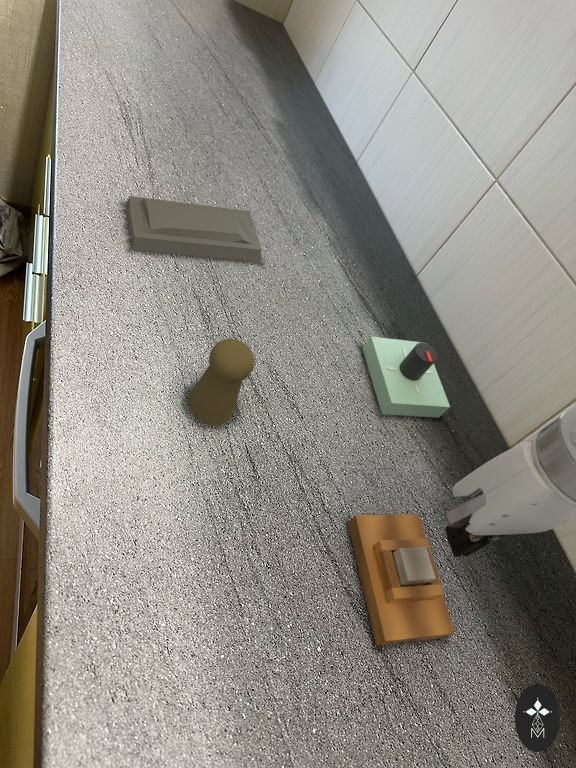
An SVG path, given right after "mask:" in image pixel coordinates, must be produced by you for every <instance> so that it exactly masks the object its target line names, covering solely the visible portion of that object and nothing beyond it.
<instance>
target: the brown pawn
mask: <svg viewBox="0 0 576 768" xmlns="http://www.w3.org/2000/svg"><path fill="white" fill-rule="evenodd" d="M255 361H256V360H255V356H254V353H253V351H252V348H251V347H250V346H249V345H248V344H246V343H245V342H244V341H242V340H240V339H236V338H225V339H224V338H223V339H222V340H220V341H218V342H217V343H216V344H215V345H213V347H212V348H211V350H210V353H209V356H208V367H207V368H206V369H205V371H204V372H203V374H202V375H201V376H200V378H199V379H198V381H197V382H196V384H195V386H194V387H193V388H192V390H191V391H190V392H189V395H188V398H187V406H188V408H189V411H190V412H191V414H192V415H193V416H194V417H195V418H196V419H197V420H199V421H200V422H202V423H203V424H204V423H205V424H208V425H213V426H214V425H215V426H217V425H221V424H225V423H226V422H229V420H230V419H231V418H232V417H233V415H234V412H235V409H236V405H237V402H238V399H239V395H240V391H241V388H242V384H243V381H245V380H246V379H247V378H248V377H249V376H250V375H251V374H252V372H253V371H254V367H255Z"/></svg>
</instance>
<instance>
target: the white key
mask: <svg viewBox="0 0 576 768" xmlns="http://www.w3.org/2000/svg"><path fill="white" fill-rule="evenodd" d="M392 554H393V558H394V562H395V566H396V569H397V573H398V577H399V581H400V585H413V584H426V583H429V582H431V581H433V580H434V579H436V578H435V574H434V571H433V568H432V564H431V561H430V558H429V554H428V551H427V548H426V547H415V548H399V549H398V550H396V551H395V552H394V553H392Z"/></svg>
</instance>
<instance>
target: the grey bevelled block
mask: <svg viewBox="0 0 576 768" xmlns="http://www.w3.org/2000/svg"><path fill="white" fill-rule="evenodd" d="M124 206H125V212H126V218H127V219H126V220H127V224H128V231H129V238H130V244H131V250H132V251H135V252H146V253H157V254H166V255H177V256H187V257H198V258H211V259H219V260H231V261H242V262H252V263H261V256H262V255H261V254H262V247H261V244H260V241H259V238H258V234H257V231H256V226H255V224H254V221H253V215H252V214H251V211H250V210H244V209H243V210H242V209H235V208H229V207H222V206H221V207H219V206H212V205H204V204H198V203H197V204H196V203H190V202H181V201H174V200H165V199H158V198H149V197H142V196H135V195H129V197H128V199H127V201H125V205H124Z"/></svg>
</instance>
